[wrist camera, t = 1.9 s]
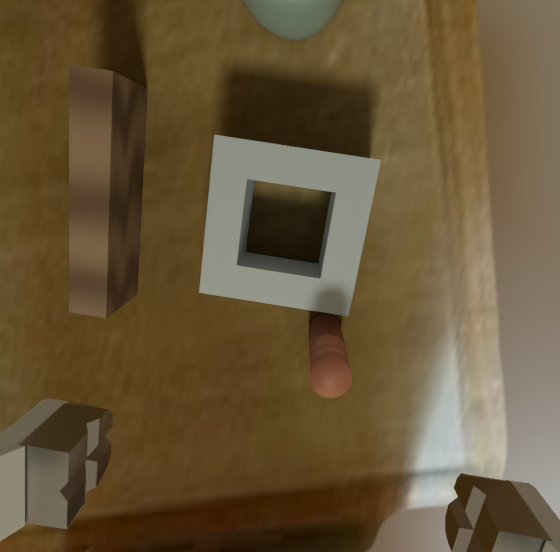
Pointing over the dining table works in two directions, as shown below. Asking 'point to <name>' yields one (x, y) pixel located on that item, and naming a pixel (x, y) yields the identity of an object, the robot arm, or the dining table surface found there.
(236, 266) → the holed block
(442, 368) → the dining table surface
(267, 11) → the cup
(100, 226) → the walnut wall
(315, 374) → the sausage
